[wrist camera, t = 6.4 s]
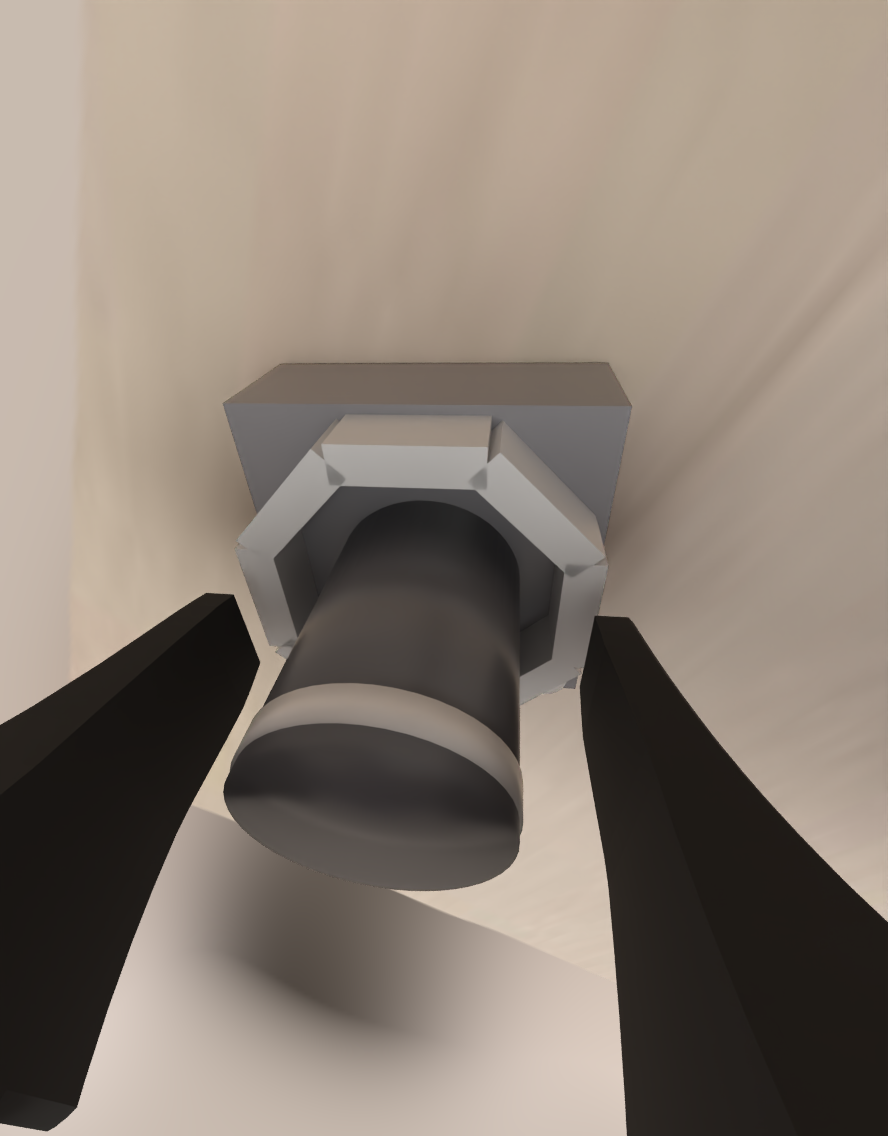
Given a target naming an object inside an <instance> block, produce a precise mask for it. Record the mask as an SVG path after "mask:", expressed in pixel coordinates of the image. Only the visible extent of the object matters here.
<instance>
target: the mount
mask: <svg viewBox="0 0 888 1136" xmlns="http://www.w3.org/2000/svg"><path fill="white" fill-rule="evenodd" d="M223 406H224V409H225V412H226V415H227V419H228V422H229V425H230V428H231V432H232V435H233V438H234V441H235V444H236V448H237V451H238V454H239V457H240V461H241V464H242V467H243V470H244V473H245V477H246V480H247V483H248V486H249V490H250V493H251V496H252V499H253V502H254V506H255V509H256V512H257V515H256V516H255V518H254V519H253V520H252V521H251V523H250V524H249V525H248V526H247V527H246V529H245V530H244V531H243V532H242V534H241V535H240V536H239V537H238V538H237V540H236V541H237V542H238V543H239V544H238V546H237V547H236V548H235V551H236V554H237V557H238V560H239V562H240V565H241V568H242V571H243V573H244V576H245V579H246V582H247V585H248V587H249V590H250V593H251V596H252V598H253V601H254V604H255V607H256V609H257V612H258V615H259V618H260V621H261V623H262V626H263V629H264V632H265V634H266V637H267V640H268V643H269V645H270V646H278V648H277V649H276V651H275V652H276V653H278V654H279V655H281V656H282V657H284V658H285V659H287V658H288V656H289V654H290V652H291V650H292V648H293V646H294V644H295V642H296V640H297V638H298V636H299V634H300V632H301V631H302V629H303V627H304V625H305V623H306V621H307V619H308V617H309V615H310V613H311V611H312V609H313V607H314V605H315V603H316V601H317V599H318V597H319V595H320V593H321V591H322V589H323V587H324V585H325V583H326V581H327V579H328V577H329V575H330V573H331V571H332V569H333V567H334V565H335V563H336V561H337V559H338V557H339V555H340V553H341V552H342V550H343V548H344V546H345V544H346V542H347V540H348V538H349V536H350V534H351V533H352V531H353V530H354V529H355V527H356V526H357V525H358V524H359V523H360V522H361V521H362V520H363V519H365V518H366V517H367V516H369V515H370V514H372V513H373V512H375V511H377V510H379V509H381V508H384V507H386V506H389V505H392V504H396V503H401V502H406V501H435V502H442V503H446V504H450V505H454V506H457V507H460V508H462V509H465V510H468V511H469V512H471V513H473V514H475V515H477V516H479V517H480V518H482V519H483V520H485V521H486V522H488V523H489V524H490V525H492V526H493V527H494V528H495V529H496V530H497V531H498V532H499V533H500V534H501V535H502V536H503V538H504V539H505V540H506V541H507V543H508V544H509V546H510V547H511V549H512V551H513V553H514V555H515V558H516V560H517V564H518V568H519V576H520V705H522V704H524V703H526V702H528V701H530V700H532V699H534V698H535V697H537V696H539V695H541V694H551V693H554V692H557V691H559V690H561V689H562V688H572V689H575V687H576V682H577V677H578V676H579V675H581V668H584V665H585V660H586V655H587V650H588V646H589V641H590V636H591V631H592V626H593V622H594V617H595V616H598V613H599V609H600V604H601V599H602V595H603V590H604V585H605V581H606V576H607V571H608V567H609V566H608V562H607V557H606V553H605V549H604V543H605V538H606V533H607V528H608V523H609V518H610V513H611V508H612V503H613V498H614V493H615V488H616V483H617V478H618V473H619V468H620V463H621V458H622V453H623V448H624V443H625V438H626V433H627V428H628V423H629V418H630V413H631V408H632V406H631V404H630V402H629V400H628V398H627V396H626V395H625V393H624V391H623V389H622V387H621V385H620V384H619V382H618V380H617V378H616V376H615V374H614V373H613V371H612V369H611V367H610V365H609V363H418V364H280V365H278V366H277V367H276V368H274V369H273V370H271V371H270V372H268V373H267V374H265V375H264V376H262V377H261V378H259V379H258V380H256V381H255V382H253V383H252V384H250V385H249V386H248V387H246V388H245V389H243V390H242V391H240V392H239V393H237V394H236V395H234V396H233V397H231V398H230V399H228V400H227V401H225V402H224V403H223Z"/></svg>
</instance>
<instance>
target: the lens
mask: <svg viewBox="0 0 888 1136" xmlns="http://www.w3.org/2000/svg"><path fill="white" fill-rule="evenodd" d="M223 793H224V800H225V803H226V806H227V808H228V810H229V812H230V814H231V815H232V817H233V818H234V820H235V821H236V822H237V823H238V824H239V825H240V827H241V828H242V829H243V830H245V831H246V832H247V833H248V834H249V835H250V836H251V837H252V838H254V839H255V840H257V841H258V842H259V843H261V844H262V845H263V846H265V847H266V848H268V849H270V850H271V851H273V852H275V853H276V854H278V855H280V856H282V857H284V858H286V859H288V860H290V861H292V862H294V863H296V864H298V865H301V866H303V867H306V868H308V869H311V870H313V871H316V872H319V873H322V874H325V875H328V876H331V877H334V878H338V879H341V880H345V881H349V882H353V883H358V884H363V885H367V886H373V887H379V888H387V889H394V890H407V891H441V890H450V889H458V888H463V887H469V886H472V885H476V884H480V883H483V882H485V881H488V880H490V879H492V878H494V877H496V876H498V875H500V874H501V873H503V872H504V871H505V870H506V869H508V868H509V867H510V866H511V864H512V863H513V862H514V861H515V859H516V857H517V854H518V852H519V844H520V834H521V832H522V827H523V779H522V772H521V769H520V576H519V568H518V564H517V560H516V558H515V555H514V553H513V551H512V549H511V547H510V546H509V544H508V543H507V541H506V540H505V539H504V538H503V536H502V535H501V534H500V533H499V532H498V531H497V530H496V529H495V528H494V527H493V526H492V525H490V524H489V523H488V522H486V521H485V520H483V519H482V518H480V517H479V516H477V515H475V514H473V513H471V512H469V511H468V510H465V509H462V508H460V507H457V506H454V505H450V504H446V503H442V502H435V501H406V502H401V503H396V504H392V505H389V506H386V507H384V508H381V509H379V510H377V511H375V512H373V513H372V514H370V515H369V516H367V517H366V518H365V519H363V520H362V521H361V522H360V523H359V524H358V525H357V526H356V527H355V529H354V530H353V531H352V533H351V534H350V536H349V538H348V540H347V542H346V544H345V546H344V548H343V550H342V552H341V553H340V555H339V557H338V559H337V561H336V563H335V565H334V567H333V569H332V571H331V573H330V575H329V577H328V579H327V581H326V583H325V585H324V587H323V589H322V591H321V593H320V595H319V597H318V599H317V601H316V603H315V605H314V607H313V609H312V611H311V613H310V615H309V617H308V619H307V621H306V623H305V625H304V627H303V629H302V631H301V632H300V634H299V636H298V638H297V640H296V642H295V644H294V646H293V648H292V650H291V652H290V654H289V656H288V658H287V660H286V662H285V664H284V666H283V668H282V670H281V672H280V674H279V676H278V678H277V680H276V682H275V684H274V686H273V688H272V690H271V692H270V694H269V696H268V698H267V700H266V702H265V704H264V706H263V707H262V708H261V709H260V710H259V712H258V713H257V714H256V715H255V717H254V718H253V720H252V722H251V724H250V726H249V728H248V730H247V732H246V733H245V735H244V737H243V739H242V741H241V743H240V745H239V747H238V749H237V751H236V753H235V755H234V757H233V760H232V762H231V767H230V773H229V775H228V777H227V779H226V781H225V784H224V791H223Z"/></svg>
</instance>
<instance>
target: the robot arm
mask: <svg viewBox="0 0 888 1136" xmlns="http://www.w3.org/2000/svg"><path fill="white" fill-rule="evenodd" d="M259 665H260V661H259V658H258V656H257V653H256V651H255V648H254V645H253V643H252V640H251V638H250V635H249V633H248V630H247V627H246V625H245V622H244V620H243V617H242V615H241V612H240V609H239V607H238V604H237V602H236V599H235V597H234V595H231V594H214V593H206V594H204V595H202V596H201V597H199V598H197V599H195V600H194V601H192V602H191V603H189V604H188V605H186V606H185V607H183V608H181V609H180V610H178V611H177V612H175V613H174V614H172V615H171V616H170V617H168V618H167V619H165V620H164V621H162V622H161V623H159V624H158V625H156V626H155V627H153V628H152V629H150V630H149V631H147V632H146V633H145V634H143V635H142V636H140V637H139V638H137V639H136V640H134V641H133V642H131V643H130V644H128V645H127V646H125V647H124V648H122V649H121V650H119V651H118V652H116V653H115V654H114V655H112V656H111V657H109V658H108V659H106V660H105V661H103V662H102V663H100V664H99V665H97V666H96V667H94V668H92V669H91V670H89V671H88V672H86V673H84V674H83V675H81V676H80V677H78V678H77V679H75V680H73V681H72V682H70V683H69V684H67V685H66V686H64V687H62V688H61V689H59V690H58V691H56V692H55V693H53V694H51V695H50V696H48V697H47V698H45V699H43V700H42V701H40V702H39V703H37V704H35V705H34V706H32V707H30V708H29V709H27V710H25V711H24V712H22V713H20V714H19V715H17V716H15V717H13V718H12V719H10V720H8V721H6V722H5V723H3V724H1V725H0V1123H2V1124H7V1125H13V1126H19V1127H24V1128H30V1129H36V1130H42V1131H49V1130H51V1129H52V1128H54V1127H56V1126H57V1125H58V1124H59V1123H60V1122H62V1121H63V1120H64V1119H66V1118H67V1117H68V1116H69V1115H70V1114H71V1113H72V1112H73V1111H74V1110H75V1109H76V1108H77V1105H78V1102H79V1099H80V1095H81V1092H82V1089H83V1085H84V1082H85V1079H86V1075H87V1072H88V1069H89V1066H90V1063H91V1060H92V1057H93V1054H94V1050H95V1048H96V1044H97V1041H98V1038H99V1035H100V1032H101V1029H102V1026H103V1023H104V1019H105V1017H106V1013H107V1010H108V1007H109V1005H110V1002H111V999H112V996H113V993H114V990H115V988H116V985H117V982H118V979H119V977H120V974H121V971H122V968H123V966H124V963H125V960H126V957H127V954H128V952H129V949H130V946H131V943H132V941H133V938H134V935H135V933H136V931H137V928H138V926H139V923H140V920H141V918H142V915H143V913H144V910H145V908H146V905H147V903H148V900H149V898H150V895H151V892H152V890H153V888H154V885H155V883H156V880H157V878H158V876H159V873H160V871H161V869H162V866H163V864H164V861H165V859H166V857H167V854H168V852H169V850H170V848H171V845H172V843H173V841H174V838H175V836H176V834H177V832H178V829H179V828H180V825H181V824H182V822H183V820H184V818H185V816H186V813H187V811H188V809H189V808H190V806H191V804H192V802H193V800H194V798H195V797H196V795H197V793H198V791H199V789H200V787H201V786H202V784H203V782H204V780H205V778H206V776H207V775H208V773H209V771H210V769H211V767H212V765H213V763H214V762H215V760H216V758H217V756H218V754H219V752H220V751H221V749H222V747H223V745H224V743H225V741H226V740H227V738H228V736H229V734H230V732H231V730H232V728H233V726H234V724H235V723H236V721H237V719H238V717H239V715H240V713H241V711H242V709H243V707H244V705H245V702H246V700H247V697H248V695H249V692H250V690H251V687H252V684H253V682H254V679H255V676H256V673H257V670H258V668H259ZM580 698H581V715H582V730H583V740H584V746H585V752H586V757H587V763H588V769H589V775H590V780H591V786H592V791H593V797H594V802H595V808H596V814H597V819H598V825H599V830H600V836H601V841H602V847H603V853H604V858H605V865H606V872H607V880H608V887H609V898H610V909H611V920H612V931H613V942H614V954H615V966H616V979H617V991H618V1004H619V1015H620V1016H619V1017H620V1030H621V1031H620V1032H621V1046H622V1061H623V1077H624V1091H625V1109H626V1127H627V1136H888V922H887V921H886V920H885V919H884V918H883V917H882V916H881V915H880V914H879V913H878V912H876V911H875V910H874V909H873V908H872V907H871V906H870V905H869V904H868V903H867V902H866V901H865V900H864V899H863V898H862V897H861V896H860V895H858V894H857V893H856V892H855V891H854V890H853V889H852V888H851V887H850V886H849V885H848V884H847V883H846V882H845V881H844V880H843V879H842V878H841V877H840V876H839V875H838V874H837V873H836V872H835V871H834V870H833V869H832V868H831V867H830V866H829V865H828V864H827V863H826V862H825V861H824V860H823V859H822V858H821V857H820V856H819V855H818V854H817V853H816V851H815V850H814V849H813V848H812V847H811V846H810V845H809V844H808V843H807V842H806V841H805V840H804V839H803V838H802V837H801V836H800V835H799V834H798V833H797V832H796V831H795V830H794V828H793V827H792V826H791V825H790V824H789V823H788V822H787V821H786V820H785V819H784V818H783V817H782V816H781V814H780V813H779V812H778V811H777V810H776V809H775V808H774V807H773V806H772V805H771V804H770V802H769V801H768V800H767V799H766V798H765V797H764V796H763V795H762V793H761V792H760V791H759V790H758V789H757V788H756V787H755V785H754V784H753V783H752V782H751V781H750V780H749V779H748V777H747V776H746V775H745V774H744V773H743V772H742V770H741V769H740V768H739V767H738V765H737V764H736V763H735V762H734V761H733V759H732V758H731V757H730V756H729V755H728V753H727V752H726V751H725V750H724V749H723V747H722V746H721V745H720V744H719V742H718V741H717V740H716V739H715V737H714V736H713V735H712V734H711V732H710V731H709V730H708V728H707V727H706V726H705V725H704V723H703V722H702V721H701V719H700V718H699V717H698V715H697V714H696V713H695V711H694V710H693V709H692V707H691V706H690V705H689V703H688V702H687V701H686V699H685V698H684V697H683V695H682V694H681V693H680V691H679V690H678V688H677V687H676V686H675V684H674V683H673V681H672V680H671V679H670V677H669V676H668V674H667V673H666V671H665V670H664V668H663V667H662V666H661V664H660V663H659V661H658V660H657V658H656V657H655V655H654V654H653V652H652V651H651V649H650V648H649V646H648V645H647V643H646V642H645V640H644V639H643V637H642V635H641V634H640V632H639V631H638V629H637V628H636V626H635V625H634V623H633V622H632V621H631V620H630V619H629V618H627V617H609V616H595V617H594V622H593V626H592V631H591V636H590V641H589V646H588V650H587V655H586V660H585V665H584V670H583V674H582V679H581V684H580Z"/></svg>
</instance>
